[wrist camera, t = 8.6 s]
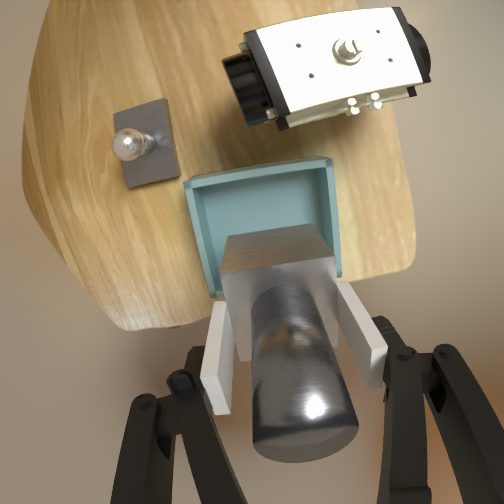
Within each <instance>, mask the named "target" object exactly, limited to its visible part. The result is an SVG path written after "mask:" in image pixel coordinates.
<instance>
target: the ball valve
mask: <svg viewBox="0 0 504 504" xmlns="http://www.w3.org/2000/svg"><path fill="white" fill-rule="evenodd" d="M243 35H244V42H243V43H240V44H239V48H240V51H241V53H238V54H235V55H232V56H230V57H227V58H224V59H222V60H221V62H222V65H223V68H224V70H225V73H226V75H227V78H228V80H229V83H230V85H231V88H232V90H233V93H234V95H235V98H236V100H237V103H238V105H239V108H240V110H241V113H242V115H243V118H244V120H245V123H246V125H247V127H252V126H255V125H258V124H261V123H265V124H266V123H269V125H271V126H272V129H273V131H274V133H277V132H280V131H283V130H286V129H289V128H292V127H295V126H299V125H302V124H305V123H308V122H310V123H311V122H315V121H318V120H321V119H325V118H328V117H332V116H336V115H338V114H340V113H344V112H345V114H346V116H351V115H355V114H358V113H361V111H360V108H363V107H369V110H374V109H379V108H383V105H382V103H385V102H389V101H394V100H399V99H404V98H408V97H414V96H417V94H416V91H415V86H417V85H421V84H425V83H429V82H431V79H430V76H429V73H430V68H431V60H430V54H429V50H428V47H427V45H426V43H425V40H424V39H423V37H422V36H421V34H420V33H419V32H418V30H416V28H414V27H413V26H412V25H410V24H408V22H407V20H406V18H405V16H404V14H403V12H402V10H401V8H400V7H384V8H370V9H358V10H349V11H341V12H334V13H327V14H321V15H316V16H310V17H305V18H300V19H295V20H291V21H286V22H282V23H278V24H274V25H270V26H266V27H263V28H259V29H255V30H252V31H249V32H245V33H243Z"/></svg>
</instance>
